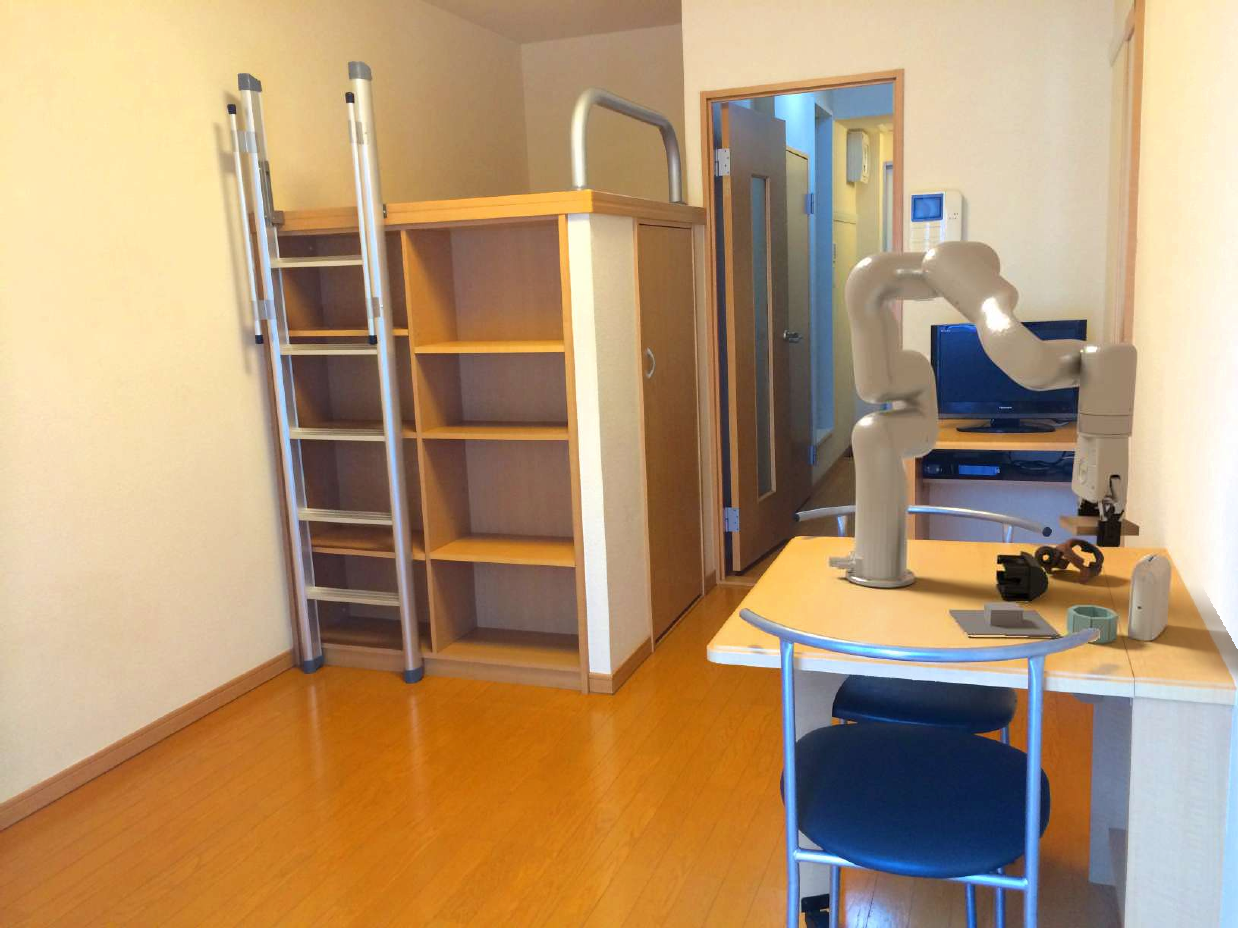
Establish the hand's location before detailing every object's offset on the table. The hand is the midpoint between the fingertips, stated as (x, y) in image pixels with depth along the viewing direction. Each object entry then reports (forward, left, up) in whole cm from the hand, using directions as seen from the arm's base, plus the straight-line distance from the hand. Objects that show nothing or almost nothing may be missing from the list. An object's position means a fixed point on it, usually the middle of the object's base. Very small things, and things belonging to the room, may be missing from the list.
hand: (1097, 539), depth 155 cm
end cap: (-4, +22, -16) cm, 27 cm away
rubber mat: (-12, +5, -16) cm, 20 cm away
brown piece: (+8, +33, -16) cm, 38 cm away
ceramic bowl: (0, 0, -16) cm, 16 cm away
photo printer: (+9, +3, -16) cm, 19 cm away
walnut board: (0, 0, +1) cm, 1 cm away
